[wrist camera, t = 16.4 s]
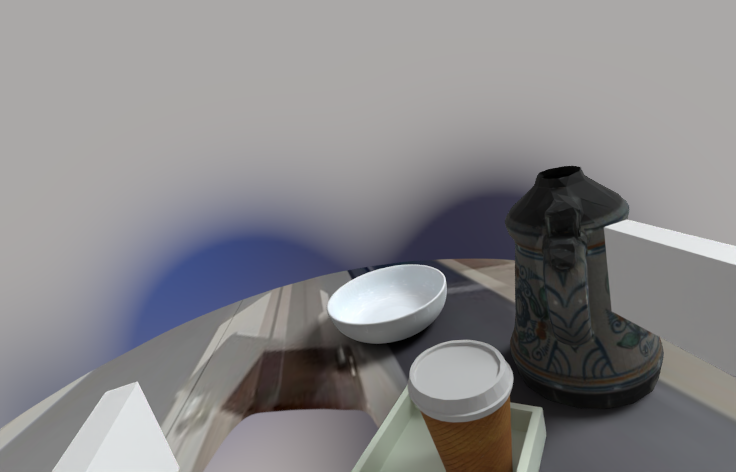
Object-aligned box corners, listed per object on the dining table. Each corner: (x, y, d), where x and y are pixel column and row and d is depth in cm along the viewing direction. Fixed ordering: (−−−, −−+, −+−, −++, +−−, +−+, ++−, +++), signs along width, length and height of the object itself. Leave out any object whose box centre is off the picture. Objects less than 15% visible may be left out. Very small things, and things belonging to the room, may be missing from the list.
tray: (346, 521, 40) (336, 494, 39) (413, 408, 52) (407, 385, 51) (513, 589, 31) (505, 556, 30) (546, 434, 43) (542, 407, 42)
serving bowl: (320, 329, 78) (310, 297, 76) (411, 286, 86) (404, 256, 84) (369, 379, 60) (357, 338, 58) (479, 319, 68) (472, 281, 66)
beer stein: (609, 317, 59) (593, 144, 52) (726, 410, 41) (725, 161, 34) (496, 345, 60) (464, 178, 53) (560, 449, 41) (525, 212, 34)
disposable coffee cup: (443, 526, 36) (413, 416, 33) (423, 444, 45) (398, 351, 42) (549, 500, 36) (529, 386, 33) (508, 423, 45) (489, 327, 42)
